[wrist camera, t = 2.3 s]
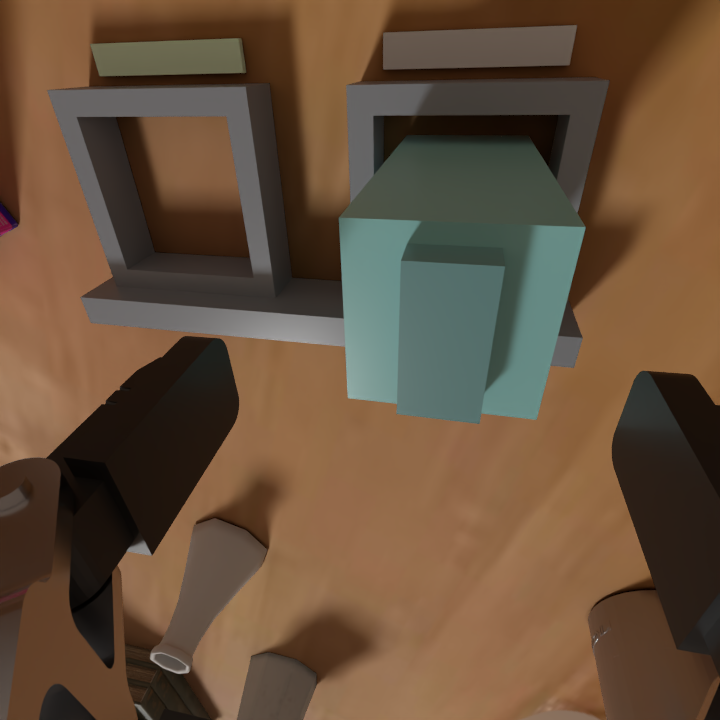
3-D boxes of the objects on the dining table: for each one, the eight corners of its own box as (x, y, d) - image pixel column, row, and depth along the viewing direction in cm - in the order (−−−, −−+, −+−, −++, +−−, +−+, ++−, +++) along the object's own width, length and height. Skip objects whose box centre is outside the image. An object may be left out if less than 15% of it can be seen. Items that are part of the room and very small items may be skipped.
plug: (528, 135, 19) (596, 245, 8) (509, 252, 21) (540, 447, 11) (407, 134, 20) (326, 232, 9) (403, 247, 22) (339, 421, 12)
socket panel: (635, 23, 16) (676, 15, 13) (559, 322, 23) (573, 367, 20) (56, 45, 20) (-23, 44, 17) (136, 290, 27) (91, 322, 24)
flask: (211, 505, 38) (141, 626, 30) (282, 548, 40) (232, 675, 32) (180, 538, 42) (111, 652, 34) (245, 575, 44) (193, 694, 36)
